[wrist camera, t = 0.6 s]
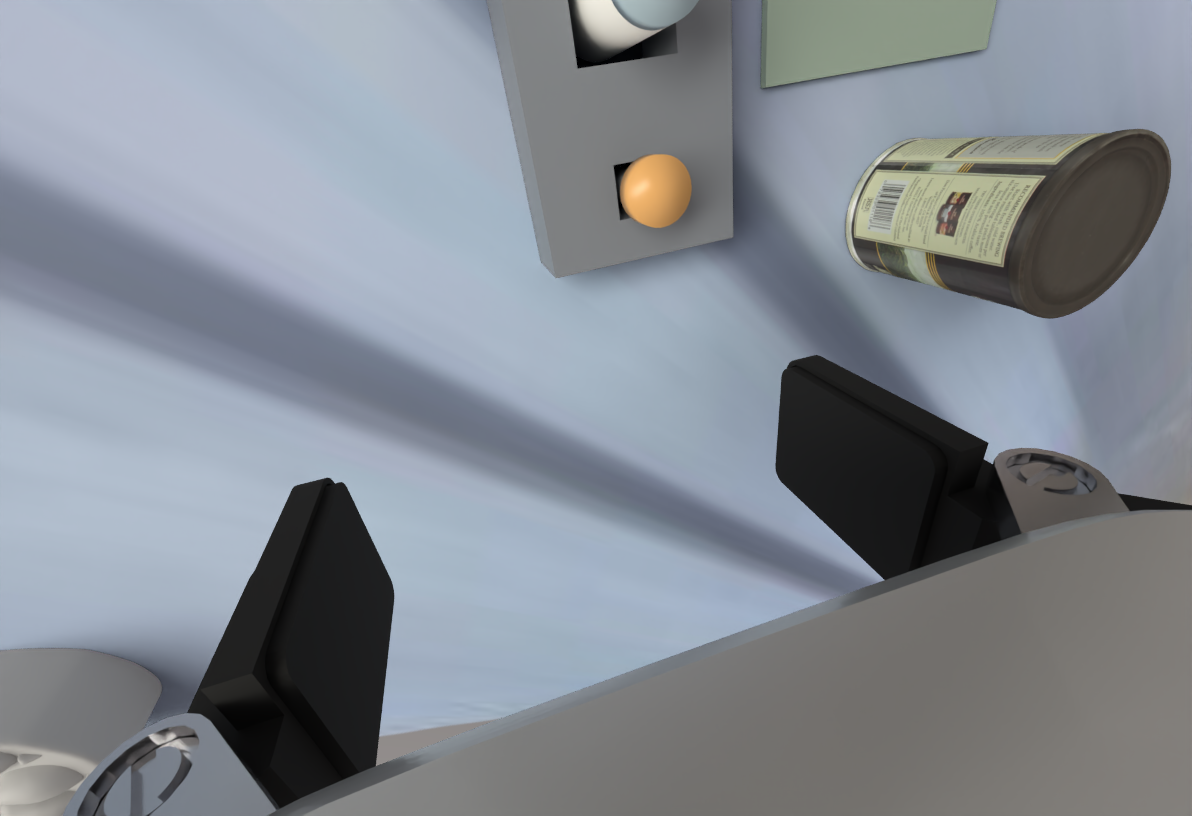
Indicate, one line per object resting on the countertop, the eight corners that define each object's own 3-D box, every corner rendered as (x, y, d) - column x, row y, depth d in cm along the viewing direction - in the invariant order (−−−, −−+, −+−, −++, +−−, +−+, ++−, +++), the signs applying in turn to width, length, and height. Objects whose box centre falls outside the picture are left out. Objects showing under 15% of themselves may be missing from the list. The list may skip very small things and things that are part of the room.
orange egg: (593, 159, 30) (625, 161, 25) (647, 149, 30) (689, 148, 25) (601, 220, 31) (633, 234, 26) (652, 209, 32) (693, 220, 27)
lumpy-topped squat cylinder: (-70, 650, 34) (-209, 787, 27) (161, 644, 39) (96, 759, 32) (-44, 741, 38) (-160, 883, 31) (163, 726, 43) (106, 845, 36)
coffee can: (946, 244, 43) (1143, 281, 31) (846, 289, 42) (1008, 344, 30) (956, 115, 37) (1200, 99, 25) (841, 164, 37) (1037, 170, 25)
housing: (467, -93, 25) (473, -144, 20) (683, -113, 27) (730, -163, 22) (540, 262, 34) (555, 278, 29) (698, 227, 36) (733, 237, 31)
